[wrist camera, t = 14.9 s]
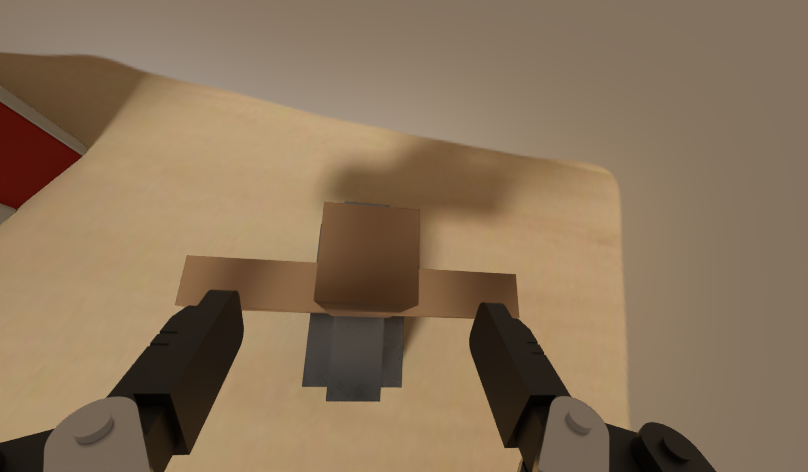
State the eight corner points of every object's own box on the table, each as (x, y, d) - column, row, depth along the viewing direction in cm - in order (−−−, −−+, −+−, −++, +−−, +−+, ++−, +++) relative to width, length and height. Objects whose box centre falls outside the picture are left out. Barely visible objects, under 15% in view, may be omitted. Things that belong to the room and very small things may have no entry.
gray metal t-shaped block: (393, 378, 27) (414, 401, 18) (310, 377, 26) (288, 401, 17) (398, 246, 31) (418, 208, 22) (325, 241, 30) (314, 198, 21)
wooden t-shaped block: (197, 313, 18) (-2, 287, 8) (208, 261, 18) (44, 177, 9) (500, 323, 20) (643, 314, 10) (497, 277, 21) (625, 227, 11)
